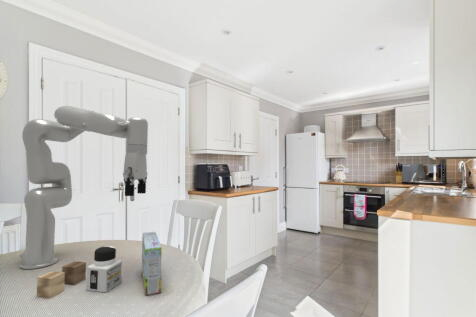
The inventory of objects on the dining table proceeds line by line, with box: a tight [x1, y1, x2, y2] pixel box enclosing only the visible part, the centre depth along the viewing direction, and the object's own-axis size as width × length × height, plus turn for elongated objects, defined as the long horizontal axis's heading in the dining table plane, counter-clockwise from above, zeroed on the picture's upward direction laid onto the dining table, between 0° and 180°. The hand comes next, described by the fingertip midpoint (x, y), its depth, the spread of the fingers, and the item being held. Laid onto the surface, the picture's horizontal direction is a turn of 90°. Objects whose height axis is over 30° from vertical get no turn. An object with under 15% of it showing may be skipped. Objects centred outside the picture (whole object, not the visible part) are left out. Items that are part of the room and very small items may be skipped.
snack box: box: [141, 231, 163, 297], centre depth 91 cm, size 21×6×15 cm, turn 23°
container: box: [85, 245, 123, 293], centre depth 87 cm, size 8×8×13 cm
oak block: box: [36, 270, 65, 299], centre depth 81 cm, size 5×5×6 cm
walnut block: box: [61, 260, 87, 286], centre depth 90 cm, size 5×5×6 cm
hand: (135, 194), depth 97 cm, fingers open, 9 cm apart
